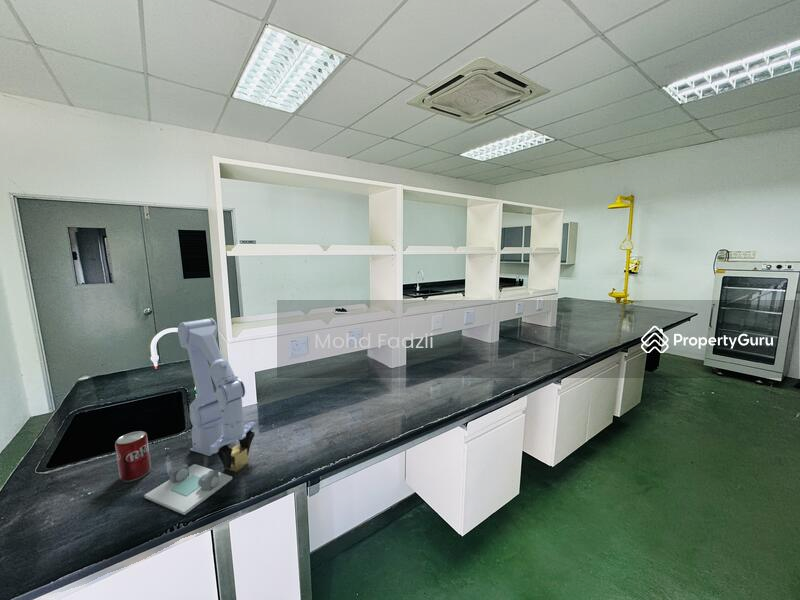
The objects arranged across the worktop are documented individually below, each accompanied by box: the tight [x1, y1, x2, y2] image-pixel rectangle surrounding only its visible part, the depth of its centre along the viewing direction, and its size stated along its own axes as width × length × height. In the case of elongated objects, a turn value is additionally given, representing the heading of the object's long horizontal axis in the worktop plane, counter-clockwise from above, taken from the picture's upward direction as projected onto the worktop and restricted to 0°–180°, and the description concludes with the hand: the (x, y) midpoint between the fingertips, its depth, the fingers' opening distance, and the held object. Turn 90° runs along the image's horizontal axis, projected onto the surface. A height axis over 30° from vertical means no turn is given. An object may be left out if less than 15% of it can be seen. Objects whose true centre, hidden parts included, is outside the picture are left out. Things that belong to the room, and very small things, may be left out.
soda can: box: [114, 430, 152, 483], centre depth 94 cm, size 7×7×12 cm
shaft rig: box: [143, 462, 233, 516], centre depth 89 cm, size 16×14×4 cm
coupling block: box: [225, 445, 249, 473], centre depth 98 cm, size 4×4×5 cm
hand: (236, 461), depth 98 cm, fingers open, 6 cm apart
